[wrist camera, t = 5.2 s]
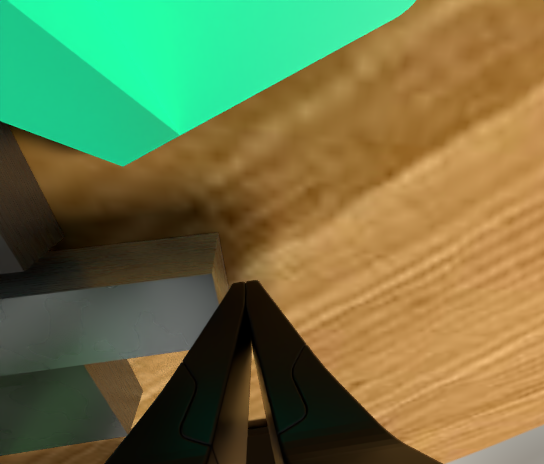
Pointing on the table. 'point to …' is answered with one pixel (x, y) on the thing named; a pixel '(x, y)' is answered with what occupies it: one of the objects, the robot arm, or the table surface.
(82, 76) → the camera mount
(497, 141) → the table surface
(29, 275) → the grey rectangular block
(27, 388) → the socket block
